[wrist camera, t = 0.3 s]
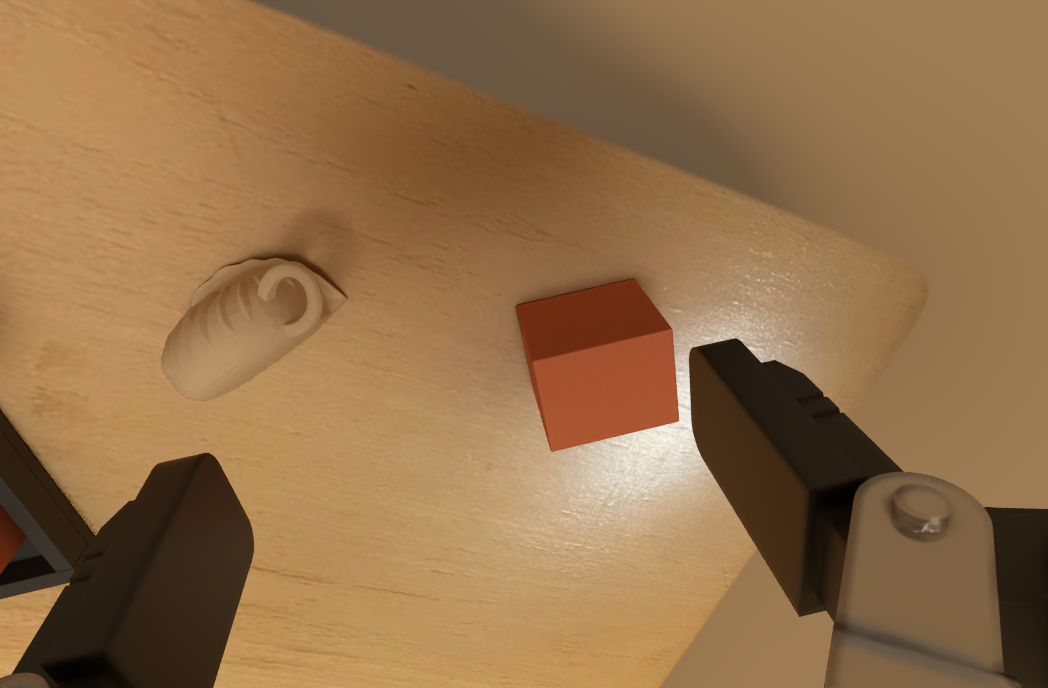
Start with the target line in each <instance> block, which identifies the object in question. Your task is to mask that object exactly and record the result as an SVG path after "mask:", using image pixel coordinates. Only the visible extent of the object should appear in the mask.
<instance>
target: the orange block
mask: <svg viewBox="0 0 1048 688" xmlns="http://www.w3.org/2000/svg"><path fill="white" fill-rule="evenodd" d="M516 312H517V316H518V321H519V326H520V330H521V335H522V340H523V344H524V349H525V354H526V358H527V363H528V368H529V372H530V377H531V382H532V386H533V390H534V394H535V397H536V401H537V404H538V408H539V411H540V415H541V418H542V422H543V425H544V429H545V432H546V436H547V439H548V443H549V446H550V450H551V451H552V452H553V451H557V450H562V449H566V448H570V447H574V446H578V445H582V444H587V443H591V442H595V441H599V440H603V439H607V438H612V437H616V436H620V435H624V434H628V433H633V432H637V431H641V430H645V429H649V428H653V427H658V426H662V425H666V424H670V423H674V422H678V421H679V412H678V399H677V385H676V372H675V359H674V345H673V332H672V328H671V327H670V326H669V324H668V323H667V322H666V320H665V319H664V318H663V316H662V315H661V314H660V312H659V311H658V310H657V308H656V307H655V306H654V304H653V303H652V302H651V300H650V299H649V298H648V296H647V295H646V294H645V292H644V291H643V290H642V288H641V287H640V286H639V284H638V283H637V282H636V280H635V279H630V280H626V281H621V282H617V283H613V284H608V285H604V286H600V287H595V288H591V289H587V290H582V291H578V292H574V293H569V294H565V295H561V296H556V297H552V298H548V299H543V300H539V301H535V302H531V303H526V304H522V305H518V306H516Z"/></svg>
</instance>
